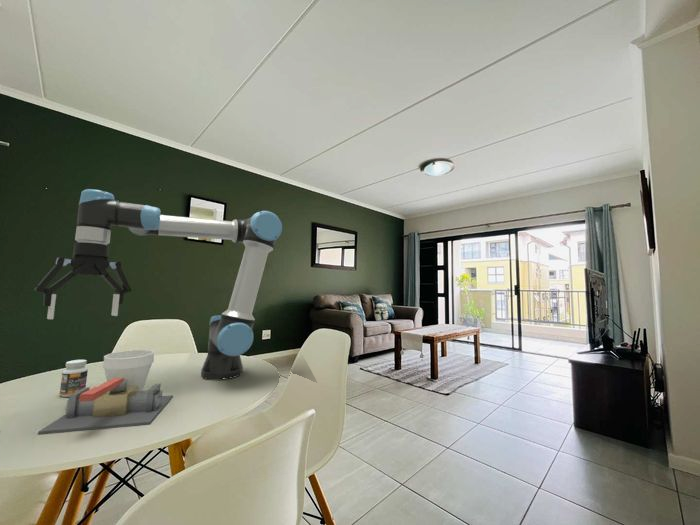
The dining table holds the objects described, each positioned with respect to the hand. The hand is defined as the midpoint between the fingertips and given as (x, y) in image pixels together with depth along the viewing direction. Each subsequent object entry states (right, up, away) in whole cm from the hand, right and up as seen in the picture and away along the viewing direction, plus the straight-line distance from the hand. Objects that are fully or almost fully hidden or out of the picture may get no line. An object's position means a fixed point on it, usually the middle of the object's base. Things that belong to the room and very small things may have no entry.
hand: (84, 317), depth 80 cm
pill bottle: (-10, -25, +7) cm, 28 cm away
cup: (+8, -26, +4) cm, 28 cm away
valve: (+13, -25, -4) cm, 28 cm away
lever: (+14, -18, -9) cm, 25 cm away
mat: (+13, -25, -4) cm, 28 cm away
